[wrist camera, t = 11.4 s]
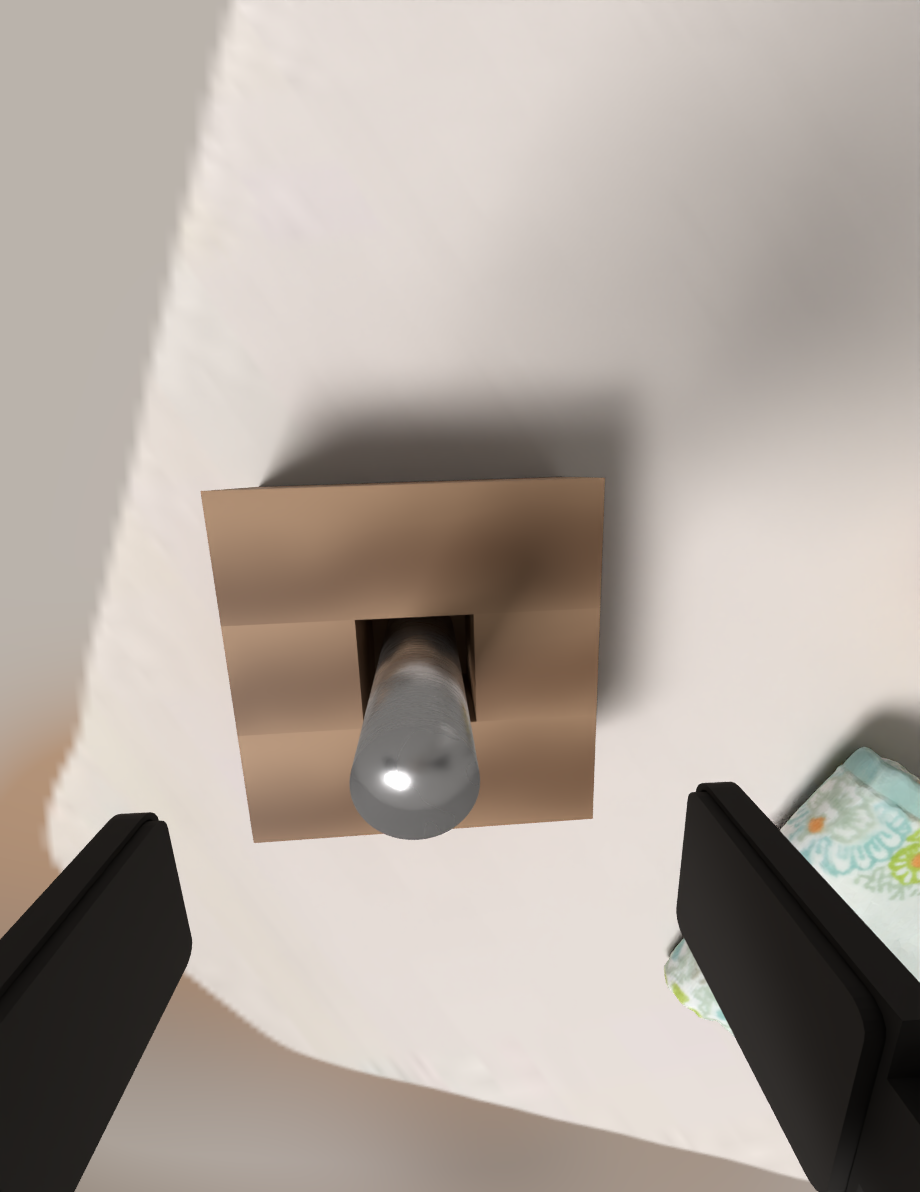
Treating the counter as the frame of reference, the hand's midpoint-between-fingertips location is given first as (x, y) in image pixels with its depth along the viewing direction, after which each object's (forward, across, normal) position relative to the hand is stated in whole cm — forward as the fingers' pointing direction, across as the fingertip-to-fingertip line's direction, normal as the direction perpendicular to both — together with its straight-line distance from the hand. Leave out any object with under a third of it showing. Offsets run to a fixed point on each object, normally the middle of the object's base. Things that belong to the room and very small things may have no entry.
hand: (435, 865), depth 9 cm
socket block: (+16, +1, +1) cm, 16 cm away
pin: (+15, +1, +1) cm, 15 cm away
